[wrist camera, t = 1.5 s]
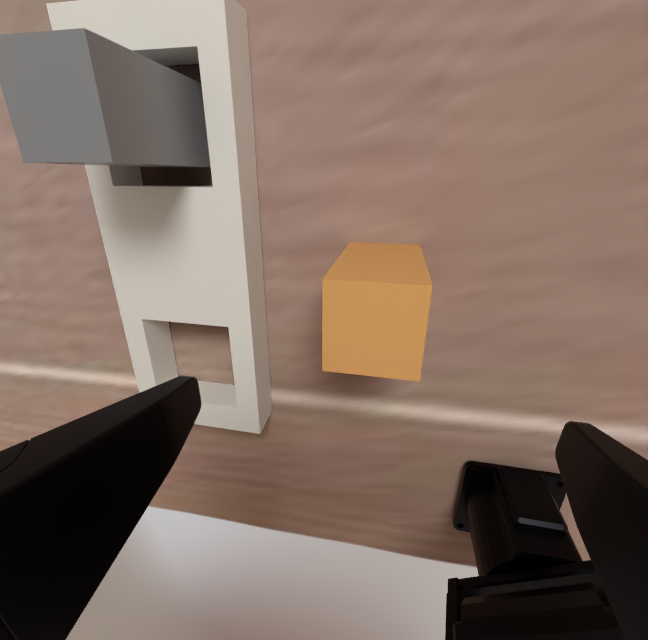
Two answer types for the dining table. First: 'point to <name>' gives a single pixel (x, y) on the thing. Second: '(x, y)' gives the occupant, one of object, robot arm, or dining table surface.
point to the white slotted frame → (188, 207)
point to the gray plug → (99, 103)
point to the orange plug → (376, 311)
